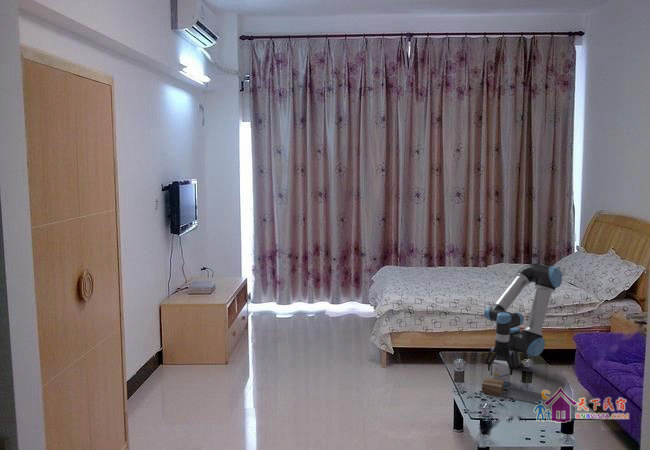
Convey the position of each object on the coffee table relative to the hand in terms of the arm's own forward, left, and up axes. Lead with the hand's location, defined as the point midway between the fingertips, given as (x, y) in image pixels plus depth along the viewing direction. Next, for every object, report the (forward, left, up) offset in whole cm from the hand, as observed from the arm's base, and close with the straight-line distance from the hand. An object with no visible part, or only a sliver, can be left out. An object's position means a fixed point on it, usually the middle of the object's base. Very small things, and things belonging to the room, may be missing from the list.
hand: (499, 378), depth 328 cm
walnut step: (+13, -1, -3) cm, 13 cm away
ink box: (0, 0, -3) cm, 3 cm away
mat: (+11, +14, -3) cm, 18 cm away
